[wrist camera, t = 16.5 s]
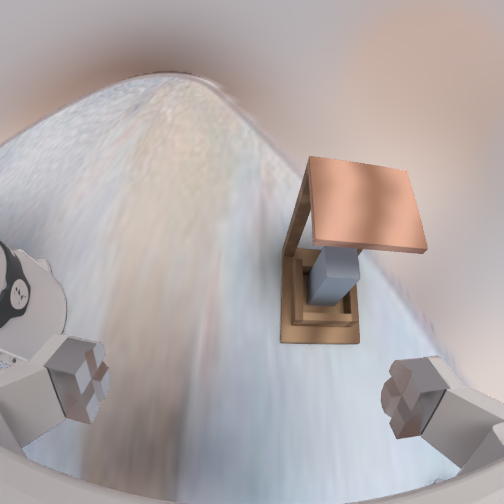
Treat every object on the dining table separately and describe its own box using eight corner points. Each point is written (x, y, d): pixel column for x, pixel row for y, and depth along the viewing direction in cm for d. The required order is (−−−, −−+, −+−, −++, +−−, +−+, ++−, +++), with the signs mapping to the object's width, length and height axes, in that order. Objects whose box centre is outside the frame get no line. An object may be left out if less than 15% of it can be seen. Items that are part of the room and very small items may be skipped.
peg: (307, 305, 43) (326, 276, 34) (306, 278, 45) (324, 244, 36) (334, 306, 43) (360, 278, 34) (333, 280, 45) (356, 247, 36)
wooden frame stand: (280, 342, 41) (318, 290, 24) (282, 250, 48) (309, 156, 30) (357, 344, 42) (436, 294, 24) (351, 255, 48) (406, 171, 30)
